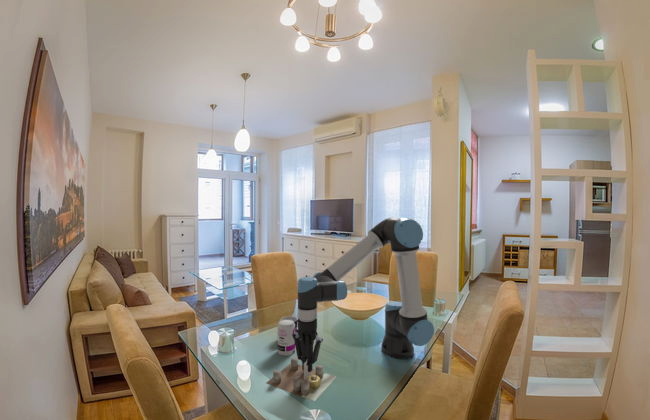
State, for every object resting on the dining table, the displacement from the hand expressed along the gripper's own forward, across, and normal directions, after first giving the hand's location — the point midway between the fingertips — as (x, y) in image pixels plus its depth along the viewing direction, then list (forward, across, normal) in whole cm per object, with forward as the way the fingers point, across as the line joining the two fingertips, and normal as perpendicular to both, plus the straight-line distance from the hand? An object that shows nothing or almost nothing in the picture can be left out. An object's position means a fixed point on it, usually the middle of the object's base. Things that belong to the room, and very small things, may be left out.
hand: (307, 378), depth 113 cm
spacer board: (+3, +3, 0) cm, 4 cm away
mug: (+3, +30, -31) cm, 43 cm away
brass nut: (+1, -3, 0) cm, 3 cm away
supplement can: (+3, +22, -16) cm, 27 cm away
